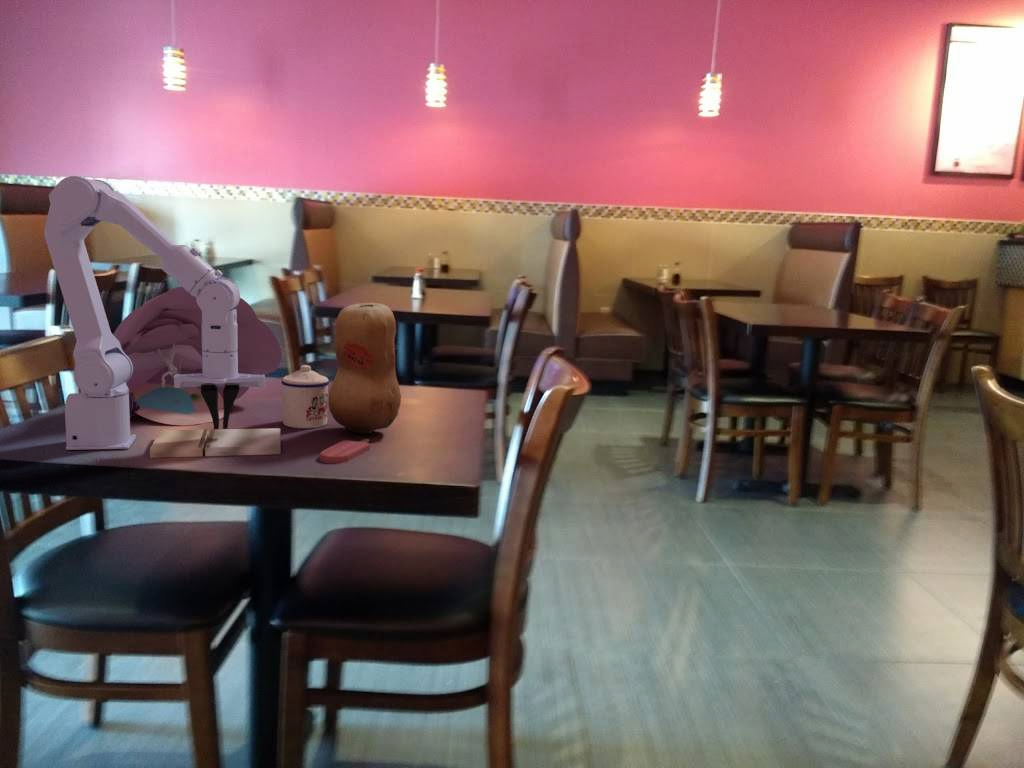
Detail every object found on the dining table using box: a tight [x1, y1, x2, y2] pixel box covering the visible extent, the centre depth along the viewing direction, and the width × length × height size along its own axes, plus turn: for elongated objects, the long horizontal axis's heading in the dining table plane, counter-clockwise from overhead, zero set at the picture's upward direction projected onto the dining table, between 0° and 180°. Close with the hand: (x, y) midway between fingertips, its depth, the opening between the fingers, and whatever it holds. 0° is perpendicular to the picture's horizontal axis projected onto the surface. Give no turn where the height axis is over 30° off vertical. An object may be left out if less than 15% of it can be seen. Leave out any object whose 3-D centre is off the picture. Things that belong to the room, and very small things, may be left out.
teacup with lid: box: [281, 364, 330, 429], centre depth 155 cm, size 12×9×12 cm
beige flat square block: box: [204, 427, 282, 457], centre depth 137 cm, size 12×12×2 cm
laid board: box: [149, 428, 210, 459], centre depth 134 cm, size 8×12×2 cm, turn 17°
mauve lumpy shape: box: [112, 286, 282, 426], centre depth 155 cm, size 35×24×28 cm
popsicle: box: [319, 438, 371, 464], centre depth 137 cm, size 5×2×15 cm
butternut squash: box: [328, 302, 402, 435], centre depth 149 cm, size 14×13×25 cm
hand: (221, 427), depth 135 cm, fingers closed
